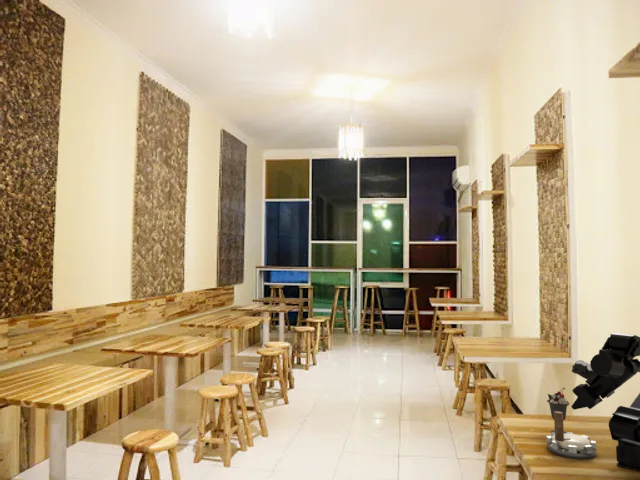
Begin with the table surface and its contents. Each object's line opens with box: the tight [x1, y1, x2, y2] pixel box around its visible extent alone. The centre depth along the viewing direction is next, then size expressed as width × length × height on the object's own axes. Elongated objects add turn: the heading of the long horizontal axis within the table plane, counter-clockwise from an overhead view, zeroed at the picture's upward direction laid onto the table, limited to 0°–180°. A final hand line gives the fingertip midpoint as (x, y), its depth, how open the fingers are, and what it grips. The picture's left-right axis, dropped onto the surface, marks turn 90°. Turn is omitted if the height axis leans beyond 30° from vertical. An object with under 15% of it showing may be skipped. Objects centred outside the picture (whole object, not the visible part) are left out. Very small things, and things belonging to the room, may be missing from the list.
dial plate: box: [546, 431, 597, 460], centre depth 144 cm, size 13×13×3 cm
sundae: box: [546, 387, 570, 434], centre depth 159 cm, size 7×7×15 cm
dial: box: [552, 411, 591, 451], centre depth 144 cm, size 10×10×10 cm
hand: (572, 408), depth 141 cm, fingers closed
